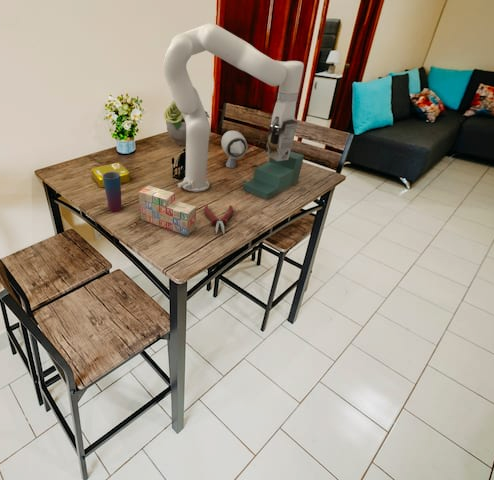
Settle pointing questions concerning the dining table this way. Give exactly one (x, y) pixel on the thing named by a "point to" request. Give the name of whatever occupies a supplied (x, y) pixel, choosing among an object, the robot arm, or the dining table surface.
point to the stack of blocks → (166, 210)
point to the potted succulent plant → (176, 124)
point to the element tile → (116, 167)
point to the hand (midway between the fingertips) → (279, 140)
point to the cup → (113, 190)
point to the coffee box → (281, 141)
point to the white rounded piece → (234, 146)
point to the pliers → (216, 221)
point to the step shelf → (275, 176)
